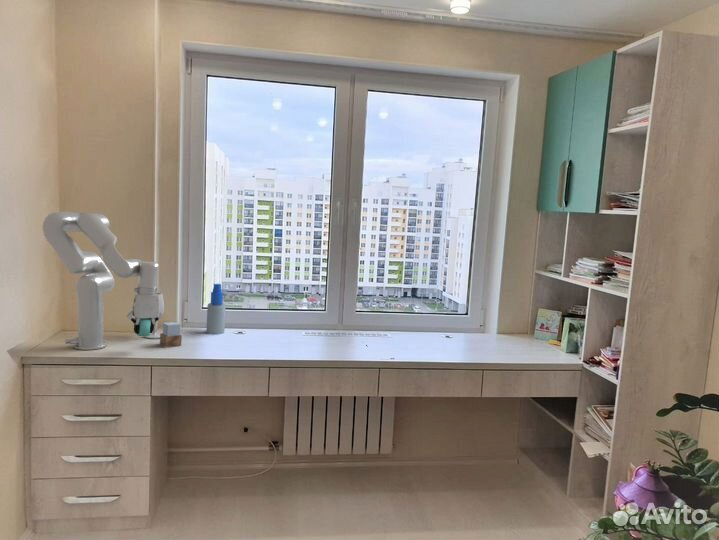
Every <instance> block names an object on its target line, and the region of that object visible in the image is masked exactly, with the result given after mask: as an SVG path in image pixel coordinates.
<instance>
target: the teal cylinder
mask: <svg viewBox="0 0 719 540" xmlns="http://www.w3.org/2000/svg"><path fill="white" fill-rule="evenodd" d="M139 325H140V327H139V334H136V336H139V337H144V336H149V335H150V326H151V318H140V321H139Z"/></svg>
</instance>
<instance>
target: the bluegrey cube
mask: <svg viewBox="0 0 719 540" xmlns="http://www.w3.org/2000/svg"><path fill="white" fill-rule="evenodd" d="M180 331H181V324H180V323H178V322H176V321H171V322H163V323H162V333H163V334H164V335H166V336H177V335H181V332H180Z"/></svg>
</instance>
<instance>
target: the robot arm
mask: <svg viewBox="0 0 719 540" xmlns="http://www.w3.org/2000/svg"><path fill="white" fill-rule="evenodd" d="M42 231H43V236H44V238H45V239H46V241H47V242H48V244H49V245H50V246H51V247H52V249H53V250H54V252H55V253H56V254H57V257H59V259H60V261H61V262H62V264H63V265H64V266H65V267H66V269H67V271H68V272H69V273H70V274H72V275H82V276H80V277H79V278H78V280H77V281H76V285H75V286H76V287H75V288H76V294H77V299H78V301H77V302H78V310H77V311H78V316H77V317H78V319H77V322H78V323H77V325H78V326H77V327H78V329H77V335H75V337H73V338H66V339H64V343H65V344H66V345H68V344H69V345H73V348H74V349H76V350H82V351H92V350H93V351H94V350H99V349H104V348H106V347H107V345H108V343H107V341H104V317H105V316H104V311H105V310H104V309H105V308H104V307H105V306H104V300H103V297H102V295H103V294H106V293H109V292H111V291H112V290H114V288H115V284H116V282H115V281H116V280H115V278H114V276H113V274H114V275H116V276H117V277H119V278H121V279H129V278H133V277H138V284H137V287H135V288H133V289H134V290H133V291H134V292H136V293H135V295H134V299H133V301H132V307H131V308H132V309H131V311H129V313H128V314H127V315H126V318H128V319H129V320H130V321H131V322H132V323H133V324H134V325H133V332H134V333H135V334H136V335H137V334H139V327H140V325H139V321H140V318H151V326H150V333H153V330H154V324H155V322H156V323H157V321H158V322H159V320H160V319H161V318H163V315H164V314H163V315H162V314H161V312H160V311H159V295H158V294H157V293H158V284H159V283H158V281H159V271H160V265H159V263H158V262H156V261H146V260H141V259H139V258H129V259H125V258H124V257H123V256H122V255H121V253H120V252H119V251H118V250H117V247H116V244H117V242H118V238H117V236H116V235H115V234H114V233H113V232H112V231H111V230H110V220H109V219H108V217H107V216H106V215H104V214H102V213H97V212H96V213H95V212H94V213H93V212H91V213H90V212H77V211H76V212H75V211H55V212H51V213H49V214H47V216H46V217H44V220H43V222H42ZM68 232H69V233H71V232H72V233H73V232H75V233H76V232H78V233H79V232H81V233H82V234H83V235H85V237H87V238H88V240H90V242H91V243H92V244H93V245H94V246H95V247H96V248H97V249H98V250H99V253H100V256H99V255H98V254H97V253H96V252H93V251H90V250H89V251H85V250H84V251H83V249H81V248H80V246H79V245H78V244H77V242H76V241H75V240H74V239H73V238H72V236H70V235H69V234H68Z"/></svg>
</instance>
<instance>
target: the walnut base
mask: <svg viewBox="0 0 719 540" xmlns="http://www.w3.org/2000/svg"><path fill="white" fill-rule="evenodd" d="M182 339H183V338H182V334H180V335H177V336H166V335H164V334H163V332H162V333H160V338H159V345H161V346H162V347H164V348H172V347H173V348H174V347H181V346H182Z"/></svg>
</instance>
